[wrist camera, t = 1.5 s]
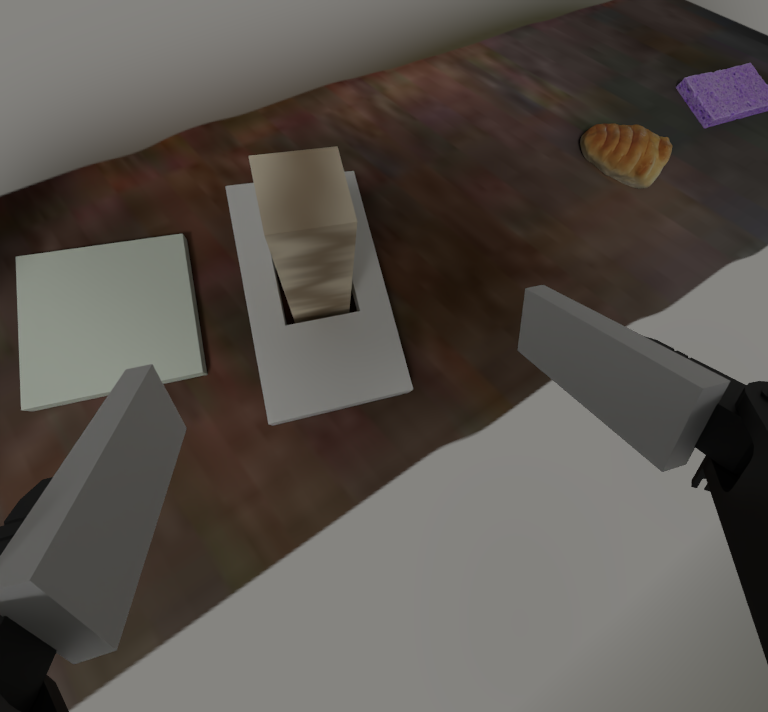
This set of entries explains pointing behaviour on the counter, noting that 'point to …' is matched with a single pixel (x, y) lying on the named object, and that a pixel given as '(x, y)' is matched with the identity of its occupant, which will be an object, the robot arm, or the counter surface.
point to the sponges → (725, 94)
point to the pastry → (626, 152)
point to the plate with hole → (317, 327)
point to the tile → (105, 318)
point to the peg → (308, 228)
